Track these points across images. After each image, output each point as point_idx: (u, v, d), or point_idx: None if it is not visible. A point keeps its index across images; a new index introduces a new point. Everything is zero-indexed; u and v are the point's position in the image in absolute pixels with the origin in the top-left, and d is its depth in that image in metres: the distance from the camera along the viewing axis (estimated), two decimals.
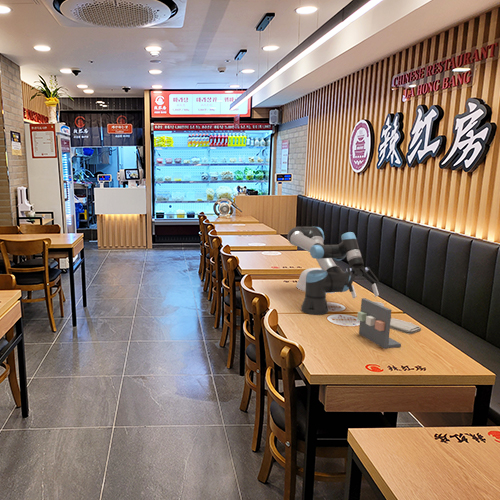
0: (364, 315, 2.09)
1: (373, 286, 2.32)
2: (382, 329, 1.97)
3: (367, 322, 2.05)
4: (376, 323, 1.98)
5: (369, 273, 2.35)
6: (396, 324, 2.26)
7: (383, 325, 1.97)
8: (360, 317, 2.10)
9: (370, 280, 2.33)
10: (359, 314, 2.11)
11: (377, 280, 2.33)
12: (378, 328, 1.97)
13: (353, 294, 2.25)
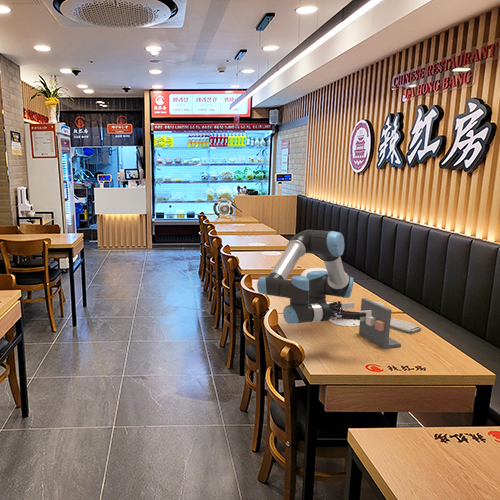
0: None
1: None
2: (382, 329, 1.97)
3: (367, 322, 2.05)
4: (376, 323, 1.98)
5: None
6: (396, 324, 2.26)
7: (383, 325, 1.97)
8: None
9: None
10: None
11: None
12: (378, 328, 1.97)
13: None
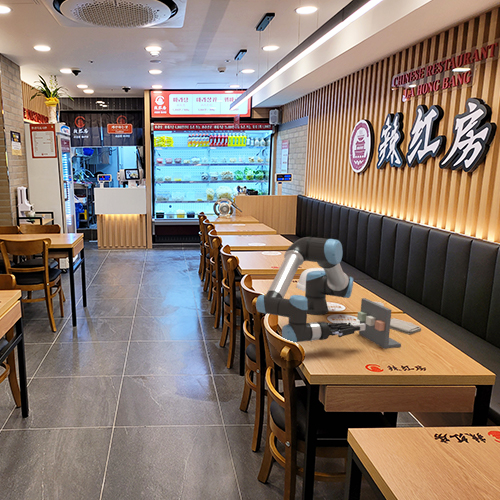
0: (364, 315, 2.09)
1: None
2: (382, 329, 1.97)
3: (367, 322, 2.05)
4: (376, 323, 1.98)
5: None
6: (396, 324, 2.26)
7: (383, 325, 1.97)
8: (360, 317, 2.10)
9: None
10: (359, 314, 2.11)
11: None
12: (378, 328, 1.97)
13: None
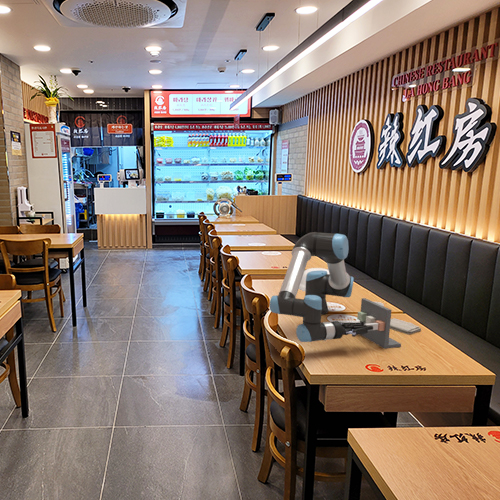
0: (364, 315, 2.09)
1: None
2: (382, 329, 1.97)
3: (367, 322, 2.05)
4: None
5: None
6: (396, 324, 2.25)
7: (383, 325, 1.97)
8: (360, 317, 2.10)
9: None
10: (359, 314, 2.11)
11: None
12: (378, 328, 1.97)
13: None
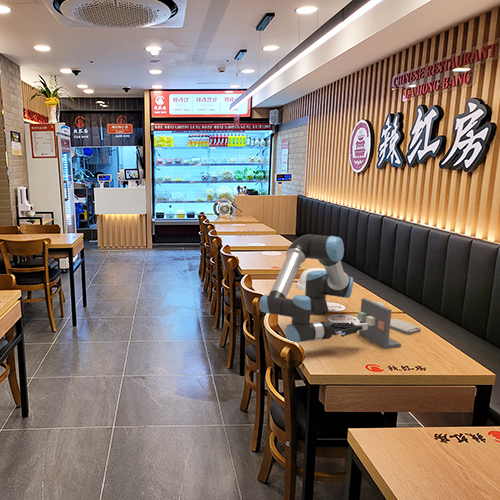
0: (364, 315, 2.09)
1: None
2: None
3: (367, 322, 2.05)
4: (379, 323, 1.99)
5: None
6: (395, 324, 2.25)
7: None
8: (360, 317, 2.10)
9: None
10: (359, 314, 2.11)
11: (354, 332, 1.92)
12: (381, 328, 1.98)
13: None
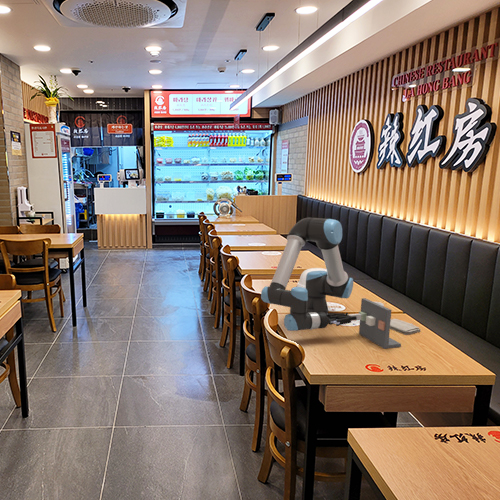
0: (365, 315, 2.10)
1: None
2: None
3: (367, 322, 2.05)
4: (379, 323, 1.99)
5: None
6: (395, 324, 2.25)
7: None
8: (361, 317, 2.10)
9: None
10: None
11: None
12: (381, 328, 1.98)
13: None
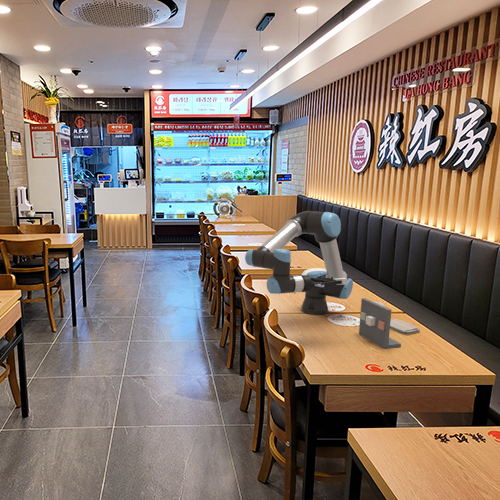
0: None
1: None
2: None
3: (367, 322, 2.05)
4: (379, 323, 1.99)
5: None
6: (394, 324, 2.25)
7: None
8: (363, 317, 2.11)
9: None
10: (362, 314, 2.11)
11: None
12: (381, 328, 1.98)
13: None
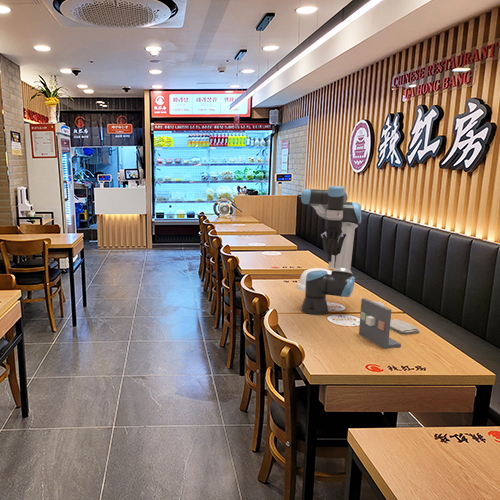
0: None
1: None
2: None
3: (367, 322, 2.05)
4: (379, 323, 1.99)
5: (340, 240, 2.10)
6: (393, 324, 2.25)
7: None
8: (363, 317, 2.11)
9: (333, 248, 2.09)
10: (362, 314, 2.11)
11: (339, 251, 2.09)
12: (381, 328, 1.98)
13: (330, 265, 2.10)
